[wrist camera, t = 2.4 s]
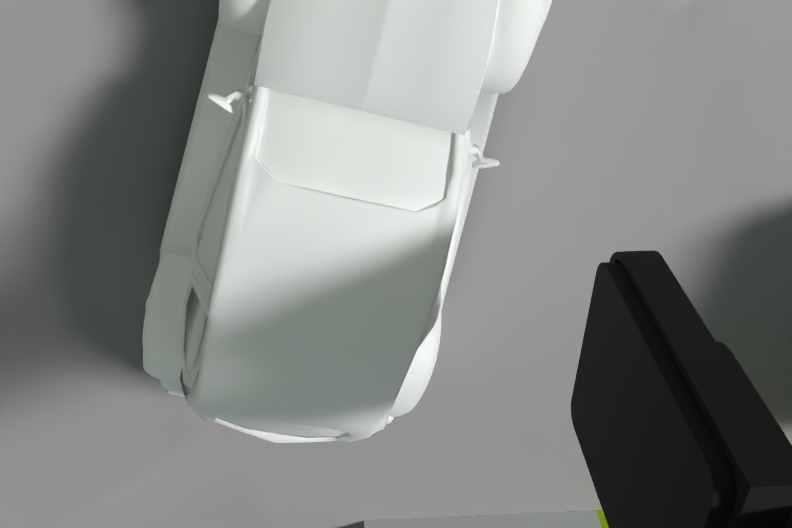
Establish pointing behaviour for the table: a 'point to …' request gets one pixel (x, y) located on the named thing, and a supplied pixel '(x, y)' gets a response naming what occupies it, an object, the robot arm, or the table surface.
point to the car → (326, 207)
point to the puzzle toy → (501, 521)
